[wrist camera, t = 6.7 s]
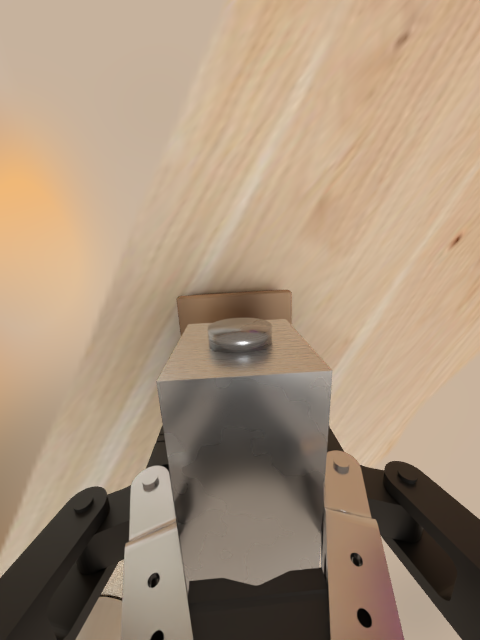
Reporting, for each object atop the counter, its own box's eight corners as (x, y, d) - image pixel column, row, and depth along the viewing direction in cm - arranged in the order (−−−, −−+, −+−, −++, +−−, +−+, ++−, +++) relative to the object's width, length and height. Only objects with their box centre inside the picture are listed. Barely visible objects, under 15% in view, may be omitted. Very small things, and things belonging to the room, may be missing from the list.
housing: (186, 312, 12) (153, 360, 6) (285, 307, 12) (334, 350, 6) (205, 492, 15) (192, 627, 9) (283, 486, 15) (315, 615, 9)
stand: (198, 403, 23) (192, 433, 19) (185, 290, 20) (176, 298, 17) (280, 397, 24) (291, 425, 20) (279, 285, 21) (291, 292, 17)
